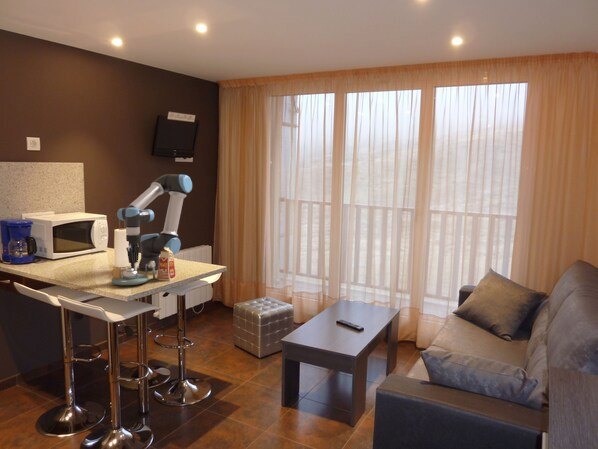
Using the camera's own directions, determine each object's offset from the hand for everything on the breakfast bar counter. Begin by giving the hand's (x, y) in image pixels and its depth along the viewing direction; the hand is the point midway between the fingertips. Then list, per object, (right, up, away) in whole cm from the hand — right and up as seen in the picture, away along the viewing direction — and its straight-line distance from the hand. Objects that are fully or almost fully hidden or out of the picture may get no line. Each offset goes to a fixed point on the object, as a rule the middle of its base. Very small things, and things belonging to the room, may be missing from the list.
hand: (133, 273), depth 270 cm
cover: (0, -2, -4) cm, 5 cm away
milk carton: (+17, -4, +9) cm, 19 cm away
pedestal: (-1, -5, -4) cm, 7 cm away
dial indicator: (+10, -5, +2) cm, 11 cm away
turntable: (-1, -4, -5) cm, 6 cm away
